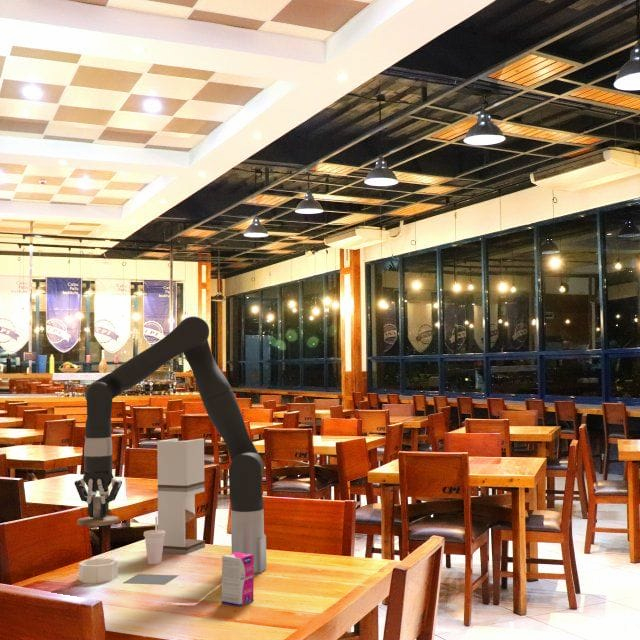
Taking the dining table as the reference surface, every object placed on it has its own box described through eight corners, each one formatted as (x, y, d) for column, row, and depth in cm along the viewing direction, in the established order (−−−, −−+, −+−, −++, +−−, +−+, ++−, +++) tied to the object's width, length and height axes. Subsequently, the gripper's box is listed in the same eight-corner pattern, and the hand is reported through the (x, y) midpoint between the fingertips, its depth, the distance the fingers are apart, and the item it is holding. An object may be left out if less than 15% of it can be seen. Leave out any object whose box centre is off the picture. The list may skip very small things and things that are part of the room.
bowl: (122, 576, 231) (122, 558, 231) (106, 585, 221) (106, 566, 222) (90, 575, 233) (90, 557, 233) (73, 584, 223) (73, 565, 224)
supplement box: (240, 607, 198) (239, 558, 199) (221, 603, 202) (220, 556, 202) (254, 601, 203) (254, 553, 204) (235, 598, 206) (235, 551, 207)
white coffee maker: (187, 553, 259) (186, 441, 262) (158, 551, 263) (157, 441, 265) (205, 546, 270) (203, 438, 272) (176, 544, 274) (175, 438, 276)
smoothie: (163, 567, 242) (162, 518, 243) (141, 567, 242) (141, 518, 243) (167, 562, 248) (167, 514, 249) (146, 562, 248) (146, 515, 249)
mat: (178, 577, 229) (178, 575, 229) (164, 586, 219) (164, 584, 219) (138, 576, 231) (138, 574, 231) (122, 585, 221) (122, 583, 221)
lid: (125, 519, 232) (125, 494, 233) (107, 526, 222) (107, 500, 222) (89, 518, 235) (89, 493, 235) (69, 525, 224) (70, 499, 224)
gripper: (127, 452, 232) (127, 515, 231) (81, 452, 234) (81, 514, 233) (115, 455, 224) (115, 520, 223) (68, 455, 227) (68, 518, 226)
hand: (98, 516), depth 228 cm, fingers closed on lid, 2 cm apart
